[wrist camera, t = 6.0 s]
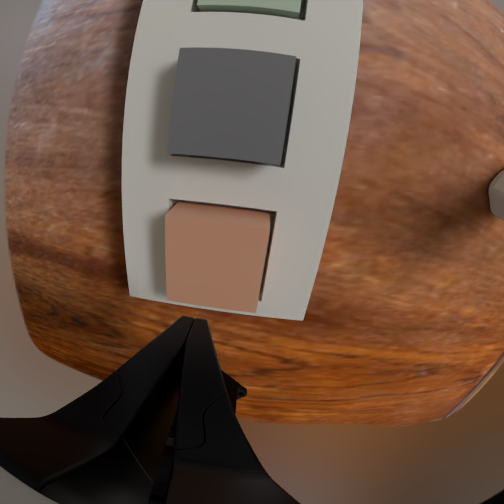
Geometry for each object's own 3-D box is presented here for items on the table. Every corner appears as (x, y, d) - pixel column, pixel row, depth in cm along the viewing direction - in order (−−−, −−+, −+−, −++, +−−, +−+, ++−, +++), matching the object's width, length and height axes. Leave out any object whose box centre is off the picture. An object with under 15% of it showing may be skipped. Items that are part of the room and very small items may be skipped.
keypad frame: (298, 294, 18) (302, 320, 15) (145, 273, 17) (129, 296, 15) (350, -30, 8) (363, -49, 6) (177, -45, 8) (165, -65, 6)
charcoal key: (277, 158, 12) (280, 165, 10) (181, 148, 12) (167, 153, 10) (291, 66, 10) (296, 56, 8) (191, 57, 10) (179, 47, 8)
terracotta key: (256, 289, 15) (255, 313, 13) (177, 278, 15) (167, 300, 13) (269, 212, 13) (270, 228, 11) (178, 201, 13) (165, 215, 11)
